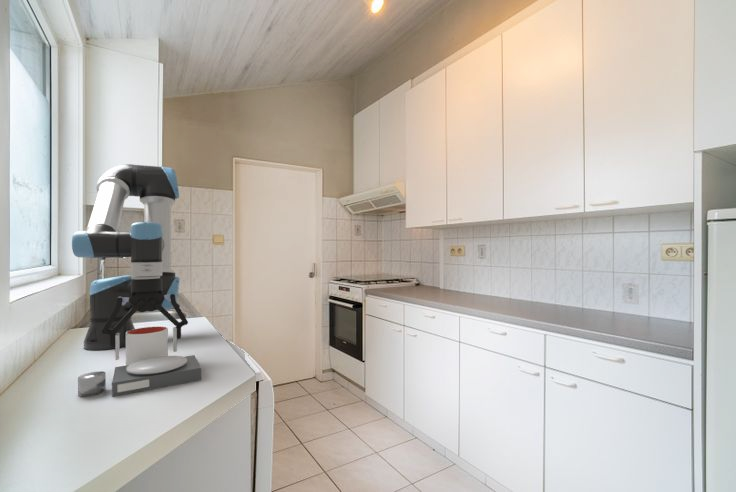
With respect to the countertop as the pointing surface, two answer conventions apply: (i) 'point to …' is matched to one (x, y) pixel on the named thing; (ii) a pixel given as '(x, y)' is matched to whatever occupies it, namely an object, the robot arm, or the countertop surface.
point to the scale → (155, 374)
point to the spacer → (91, 384)
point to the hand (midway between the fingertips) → (147, 354)
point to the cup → (146, 343)
